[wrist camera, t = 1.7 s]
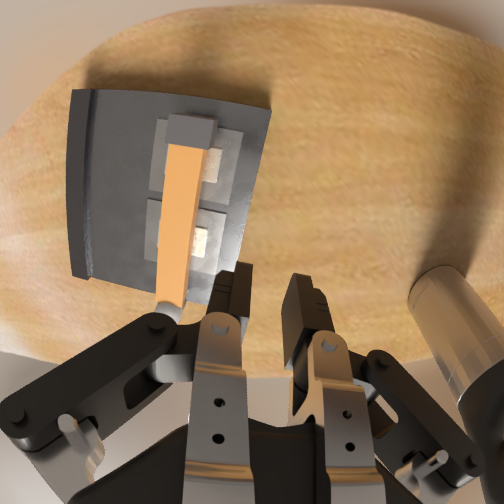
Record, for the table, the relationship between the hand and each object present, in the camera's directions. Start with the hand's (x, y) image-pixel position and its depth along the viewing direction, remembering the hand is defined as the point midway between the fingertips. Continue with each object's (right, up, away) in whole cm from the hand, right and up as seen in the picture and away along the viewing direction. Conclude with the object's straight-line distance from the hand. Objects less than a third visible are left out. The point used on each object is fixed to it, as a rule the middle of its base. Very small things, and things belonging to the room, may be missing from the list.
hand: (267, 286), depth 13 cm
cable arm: (-7, +4, +15) cm, 17 cm away
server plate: (-11, +8, +18) cm, 22 cm away
